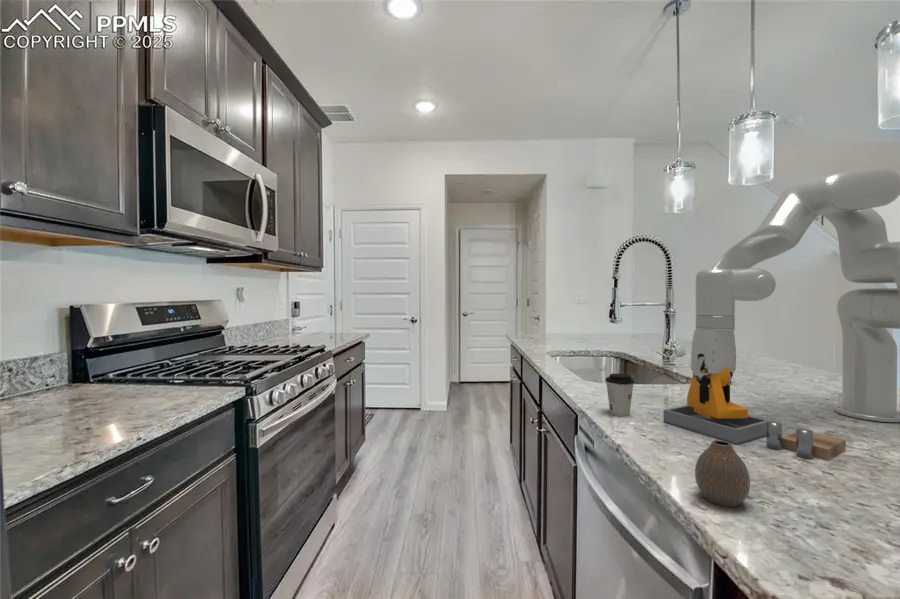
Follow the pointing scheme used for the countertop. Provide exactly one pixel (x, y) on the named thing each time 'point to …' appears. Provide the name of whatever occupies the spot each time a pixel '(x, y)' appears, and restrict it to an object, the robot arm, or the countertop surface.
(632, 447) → the countertop surface
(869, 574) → the countertop surface
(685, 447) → the countertop surface
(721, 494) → the vase
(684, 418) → the tray
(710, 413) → the bracket
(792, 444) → the tan slab
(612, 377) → the coffee cup
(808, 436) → the peg
